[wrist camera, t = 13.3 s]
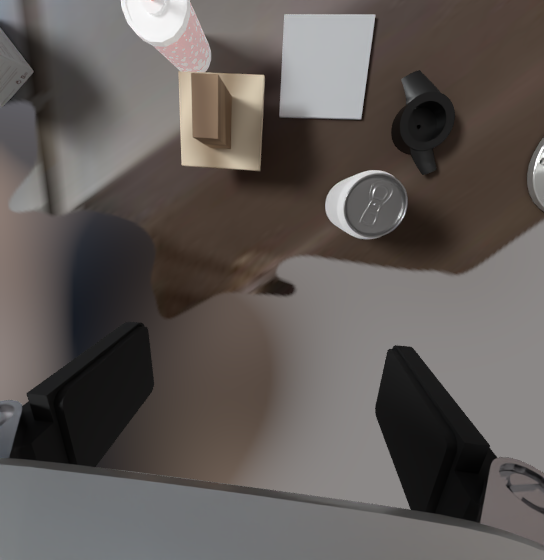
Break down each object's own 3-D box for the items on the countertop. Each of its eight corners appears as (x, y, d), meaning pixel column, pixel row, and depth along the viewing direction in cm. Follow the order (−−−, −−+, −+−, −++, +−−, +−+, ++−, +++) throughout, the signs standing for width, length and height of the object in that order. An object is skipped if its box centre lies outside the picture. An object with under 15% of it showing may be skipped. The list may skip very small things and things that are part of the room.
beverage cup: (221, 80, 31) (166, -9, 18) (174, 88, 32) (89, 10, 19) (212, 18, 30) (144, -130, 16) (163, 28, 30) (59, -105, 17)
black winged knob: (370, 164, 33) (377, 160, 30) (400, 73, 30) (411, 60, 27) (428, 178, 33) (440, 176, 30) (465, 89, 30) (482, 78, 27)
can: (382, 188, 33) (426, 181, 22) (361, 235, 35) (392, 251, 24) (335, 171, 33) (356, 157, 22) (317, 219, 35) (327, 229, 24)
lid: (265, 78, 27) (257, 47, 21) (260, 171, 29) (252, 164, 24) (181, 74, 27) (152, 43, 22) (184, 166, 30) (159, 158, 25)
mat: (374, 17, 28) (375, 14, 28) (360, 119, 31) (361, 118, 31) (284, 16, 29) (284, 14, 29) (279, 117, 32) (279, 116, 32)
